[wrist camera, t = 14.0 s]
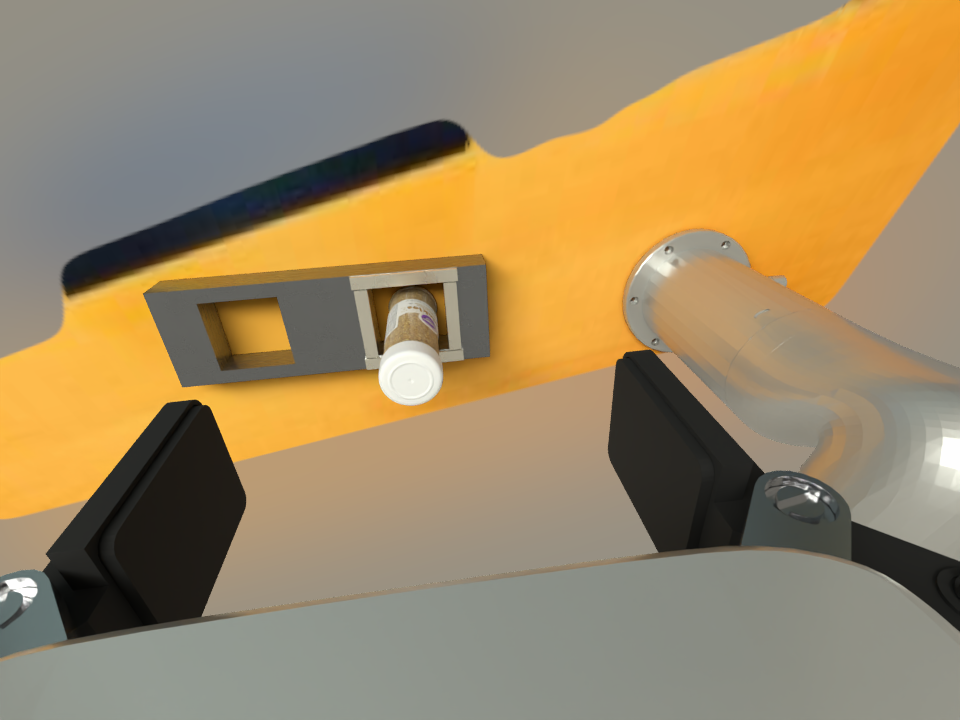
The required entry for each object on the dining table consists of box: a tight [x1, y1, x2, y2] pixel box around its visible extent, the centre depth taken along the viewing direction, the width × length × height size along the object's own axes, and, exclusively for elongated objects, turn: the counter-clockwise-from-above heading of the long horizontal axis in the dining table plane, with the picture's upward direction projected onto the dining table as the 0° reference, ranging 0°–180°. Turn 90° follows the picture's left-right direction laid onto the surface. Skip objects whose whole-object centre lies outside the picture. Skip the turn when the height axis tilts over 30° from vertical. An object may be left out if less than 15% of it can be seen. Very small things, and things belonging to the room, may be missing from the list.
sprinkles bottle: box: [379, 286, 443, 406], centre depth 39 cm, size 5×5×14 cm
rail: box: [143, 254, 490, 387], centre depth 43 cm, size 28×9×3 cm, turn 93°
